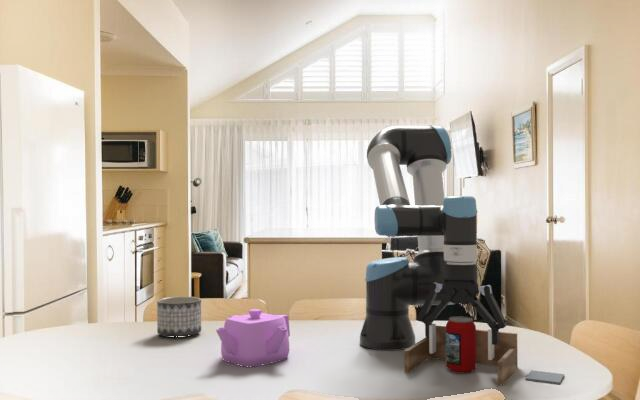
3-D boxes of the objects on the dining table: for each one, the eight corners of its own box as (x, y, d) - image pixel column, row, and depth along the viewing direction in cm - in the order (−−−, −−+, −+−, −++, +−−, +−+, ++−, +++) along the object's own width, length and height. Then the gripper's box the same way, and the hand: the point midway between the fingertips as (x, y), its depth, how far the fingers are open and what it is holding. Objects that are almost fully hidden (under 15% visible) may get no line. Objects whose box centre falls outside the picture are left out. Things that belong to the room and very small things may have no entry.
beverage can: (442, 367, 145) (442, 316, 145) (470, 366, 145) (470, 315, 145) (451, 375, 138) (450, 321, 138) (480, 374, 138) (480, 320, 138)
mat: (525, 379, 134) (525, 378, 134) (531, 371, 140) (531, 370, 140) (559, 384, 130) (559, 382, 130) (564, 375, 137) (564, 374, 137)
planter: (210, 333, 183) (210, 298, 183) (179, 341, 173) (179, 304, 173) (179, 329, 190) (179, 295, 190) (148, 336, 179) (147, 301, 179)
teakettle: (290, 350, 162) (290, 303, 162) (287, 368, 145) (287, 315, 145) (225, 351, 162) (225, 304, 162) (215, 369, 145) (215, 316, 145)
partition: (404, 372, 140) (404, 337, 140) (427, 356, 154) (426, 324, 154) (502, 385, 130) (502, 347, 130) (517, 367, 144) (517, 333, 144)
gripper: (403, 262, 144) (404, 353, 144) (512, 266, 132) (513, 365, 132) (414, 260, 151) (415, 346, 150) (519, 263, 139) (520, 357, 139)
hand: (461, 355), depth 141 cm, fingers open, 13 cm apart
